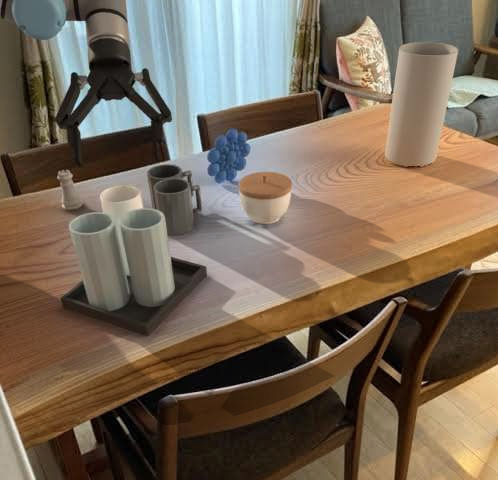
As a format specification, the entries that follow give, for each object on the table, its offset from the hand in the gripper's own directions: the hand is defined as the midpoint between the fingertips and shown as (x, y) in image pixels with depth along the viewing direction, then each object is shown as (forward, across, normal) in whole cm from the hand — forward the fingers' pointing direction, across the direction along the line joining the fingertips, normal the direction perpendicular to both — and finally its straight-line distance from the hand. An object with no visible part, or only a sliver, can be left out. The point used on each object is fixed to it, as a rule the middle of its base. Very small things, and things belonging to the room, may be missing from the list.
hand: (118, 161), depth 95 cm
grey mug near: (+8, -10, -16) cm, 20 cm away
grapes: (-6, -21, -30) cm, 38 cm away
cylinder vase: (-10, -67, -33) cm, 76 cm away
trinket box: (+7, -27, -16) cm, 33 cm away
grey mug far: (+3, -8, -21) cm, 23 cm away
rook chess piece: (-1, +14, -25) cm, 29 cm away
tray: (+23, -1, -1) cm, 23 cm away
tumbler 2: (+25, -4, +1) cm, 25 cm away
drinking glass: (+19, -1, -5) cm, 19 cm away
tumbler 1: (+25, +3, +1) cm, 25 cm away
